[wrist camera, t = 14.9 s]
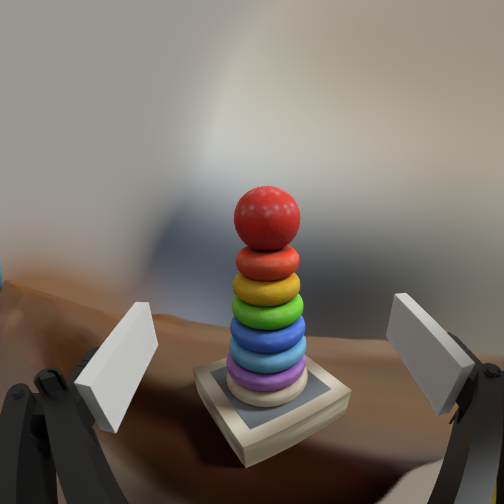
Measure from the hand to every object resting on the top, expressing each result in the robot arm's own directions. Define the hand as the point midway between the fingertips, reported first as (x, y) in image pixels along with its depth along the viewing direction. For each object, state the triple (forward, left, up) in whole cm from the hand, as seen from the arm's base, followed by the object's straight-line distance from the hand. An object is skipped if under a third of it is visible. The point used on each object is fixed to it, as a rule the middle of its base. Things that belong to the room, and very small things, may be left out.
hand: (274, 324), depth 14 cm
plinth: (-8, +4, -17) cm, 19 cm away
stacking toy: (-8, +4, -13) cm, 15 cm away
